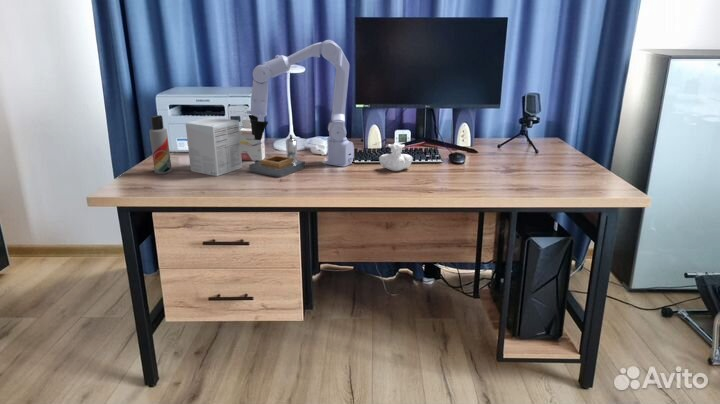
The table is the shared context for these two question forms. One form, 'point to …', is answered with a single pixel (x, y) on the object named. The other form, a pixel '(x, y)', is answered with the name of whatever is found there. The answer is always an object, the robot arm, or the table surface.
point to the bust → (395, 158)
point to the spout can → (291, 148)
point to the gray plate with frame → (277, 166)
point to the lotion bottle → (160, 146)
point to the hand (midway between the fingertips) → (256, 137)
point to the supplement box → (214, 146)
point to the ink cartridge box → (251, 144)
